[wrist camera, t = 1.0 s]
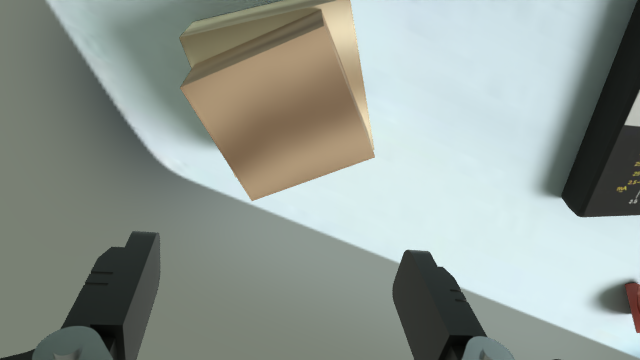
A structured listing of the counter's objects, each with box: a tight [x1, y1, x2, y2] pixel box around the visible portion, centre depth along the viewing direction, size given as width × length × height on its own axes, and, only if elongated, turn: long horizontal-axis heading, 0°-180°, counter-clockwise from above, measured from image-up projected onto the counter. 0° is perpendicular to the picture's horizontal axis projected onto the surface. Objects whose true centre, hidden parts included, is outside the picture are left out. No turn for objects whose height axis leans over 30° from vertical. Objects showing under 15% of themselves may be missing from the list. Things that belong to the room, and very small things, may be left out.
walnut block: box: [180, 10, 375, 201], centre depth 27 cm, size 9×9×4 cm
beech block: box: [179, 0, 374, 177], centre depth 30 cm, size 11×11×4 cm
